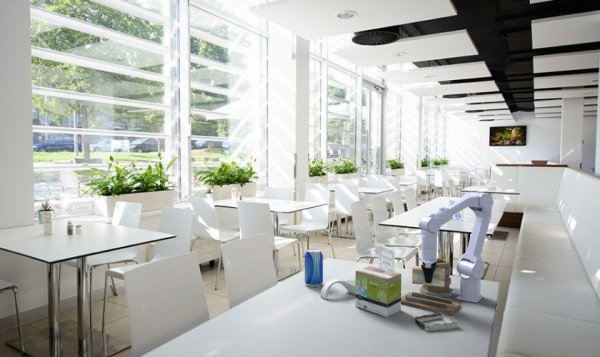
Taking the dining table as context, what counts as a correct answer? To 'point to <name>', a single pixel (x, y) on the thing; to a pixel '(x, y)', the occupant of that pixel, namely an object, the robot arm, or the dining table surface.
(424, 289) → the tankard
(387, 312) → the tea box
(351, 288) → the white curved piece
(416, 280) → the pale wooden bar
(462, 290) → the robot arm
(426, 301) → the walnut ledge
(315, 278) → the beer can
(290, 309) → the dining table surface
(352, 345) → the dining table surface
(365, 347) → the dining table surface
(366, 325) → the dining table surface
